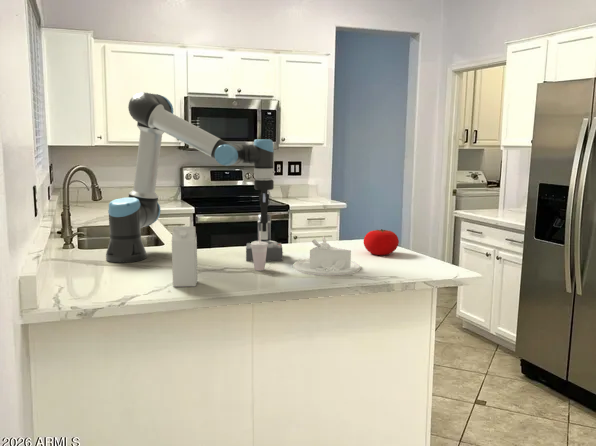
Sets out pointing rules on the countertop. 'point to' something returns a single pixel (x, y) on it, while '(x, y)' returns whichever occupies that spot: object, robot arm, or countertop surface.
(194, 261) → the milk carton
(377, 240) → the tomato
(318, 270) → the dish
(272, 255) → the camera body
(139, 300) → the countertop surface
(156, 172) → the robot arm
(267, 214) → the lens
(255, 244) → the smoothie
